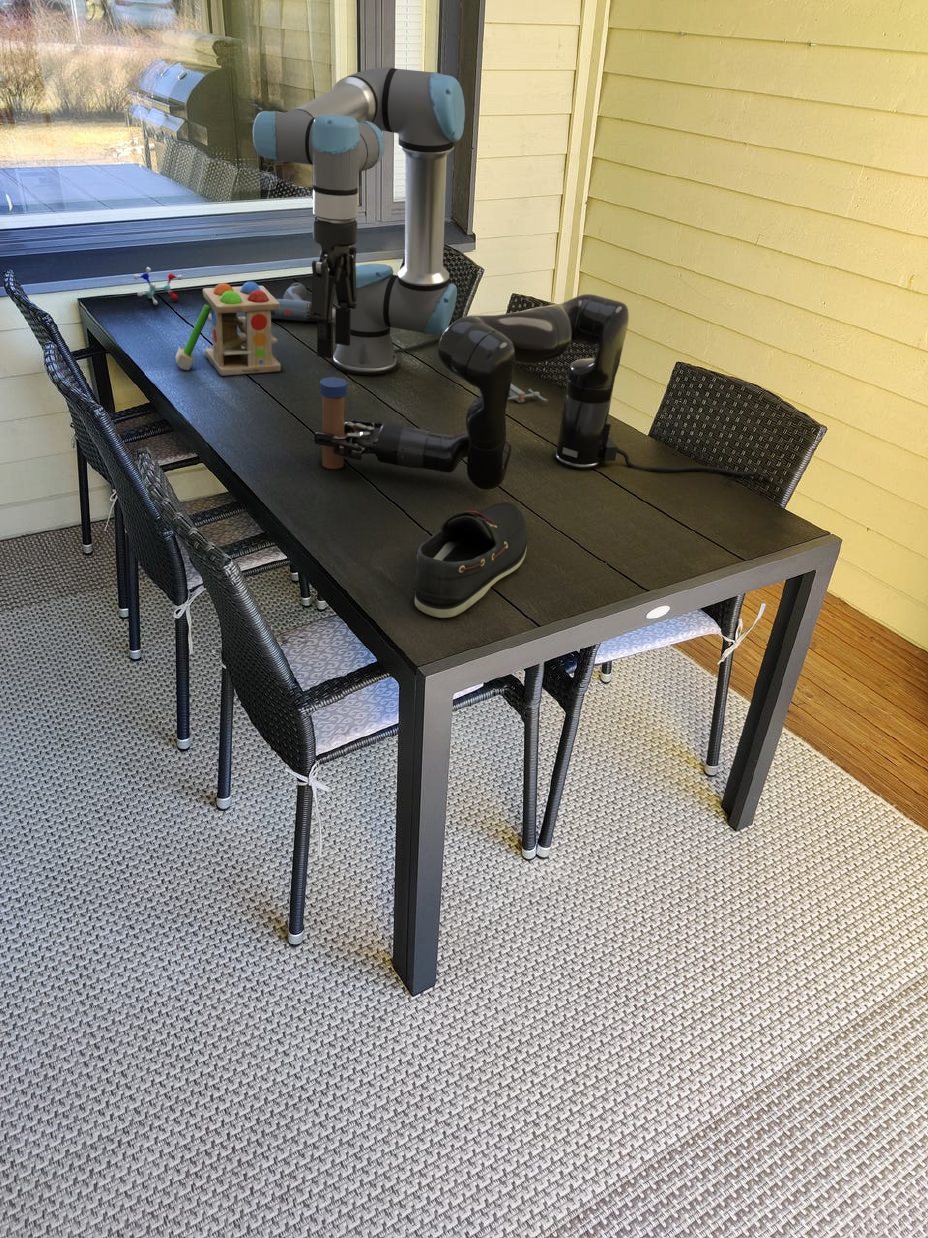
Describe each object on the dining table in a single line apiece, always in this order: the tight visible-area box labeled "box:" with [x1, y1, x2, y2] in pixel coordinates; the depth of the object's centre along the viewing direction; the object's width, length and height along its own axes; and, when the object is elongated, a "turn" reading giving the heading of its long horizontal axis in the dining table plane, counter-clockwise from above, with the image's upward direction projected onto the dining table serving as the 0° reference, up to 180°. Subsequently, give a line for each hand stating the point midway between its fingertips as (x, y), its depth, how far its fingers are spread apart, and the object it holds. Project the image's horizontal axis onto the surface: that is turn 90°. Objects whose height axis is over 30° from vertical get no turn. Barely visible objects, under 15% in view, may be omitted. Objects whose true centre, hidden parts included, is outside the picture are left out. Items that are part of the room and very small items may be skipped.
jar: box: [321, 395, 346, 470], centre depth 187 cm, size 4×4×16 cm
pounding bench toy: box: [174, 281, 282, 377], centre depth 225 cm, size 23×14×18 cm, turn 116°
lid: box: [319, 376, 348, 398], centre depth 183 cm, size 5×5×2 cm
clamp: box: [508, 383, 549, 404], centre depth 228 cm, size 15×2×10 cm
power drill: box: [271, 282, 336, 322], centre depth 265 cm, size 5×19×20 cm
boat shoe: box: [412, 501, 528, 619], centre depth 161 cm, size 13×33×10 cm, turn 147°
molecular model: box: [133, 266, 183, 306], centre depth 263 cm, size 12×10×10 cm
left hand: (334, 349), depth 179 cm, fingers open, 7 cm apart
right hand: (320, 431), depth 189 cm, fingers open, 5 cm apart
